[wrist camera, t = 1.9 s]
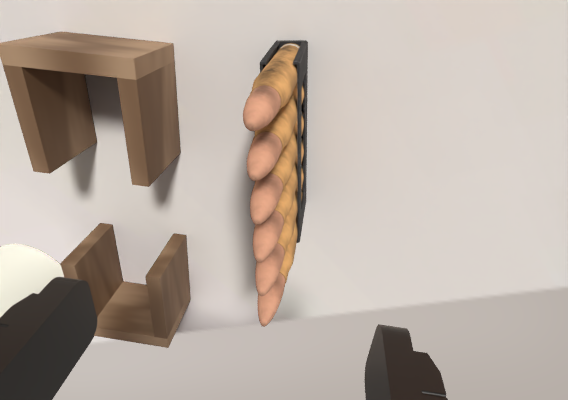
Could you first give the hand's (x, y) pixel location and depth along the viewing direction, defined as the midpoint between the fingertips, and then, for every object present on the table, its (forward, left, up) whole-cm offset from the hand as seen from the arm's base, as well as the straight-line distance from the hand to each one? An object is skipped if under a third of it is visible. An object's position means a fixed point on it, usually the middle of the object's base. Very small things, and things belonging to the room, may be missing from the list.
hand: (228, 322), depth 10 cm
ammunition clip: (0, 0, -16) cm, 16 cm away
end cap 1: (+11, -1, -16) cm, 19 cm away
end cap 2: (+11, +13, -16) cm, 23 cm away
